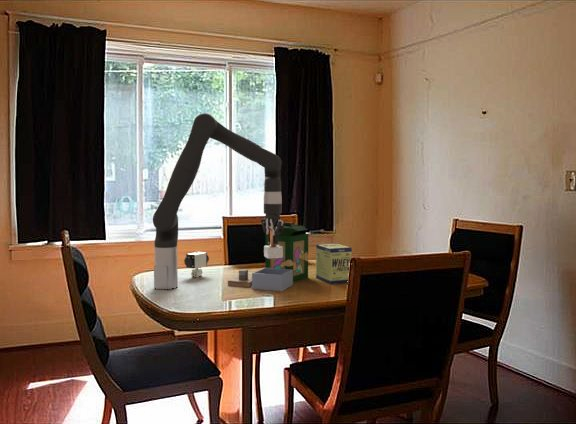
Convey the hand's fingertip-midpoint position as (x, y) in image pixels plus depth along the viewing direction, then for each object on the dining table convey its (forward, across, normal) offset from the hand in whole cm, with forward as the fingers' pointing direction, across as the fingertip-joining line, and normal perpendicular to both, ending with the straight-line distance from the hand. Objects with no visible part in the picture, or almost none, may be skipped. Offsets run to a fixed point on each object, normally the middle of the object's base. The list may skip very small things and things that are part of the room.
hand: (272, 243), depth 236 cm
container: (+19, +10, -16) cm, 27 cm away
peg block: (+6, 0, 0) cm, 6 cm away
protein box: (+19, -6, -30) cm, 36 cm away
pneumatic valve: (+19, +40, +14) cm, 46 cm away
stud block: (+18, +13, +6) cm, 23 cm away
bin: (+18, 0, 0) cm, 18 cm away
